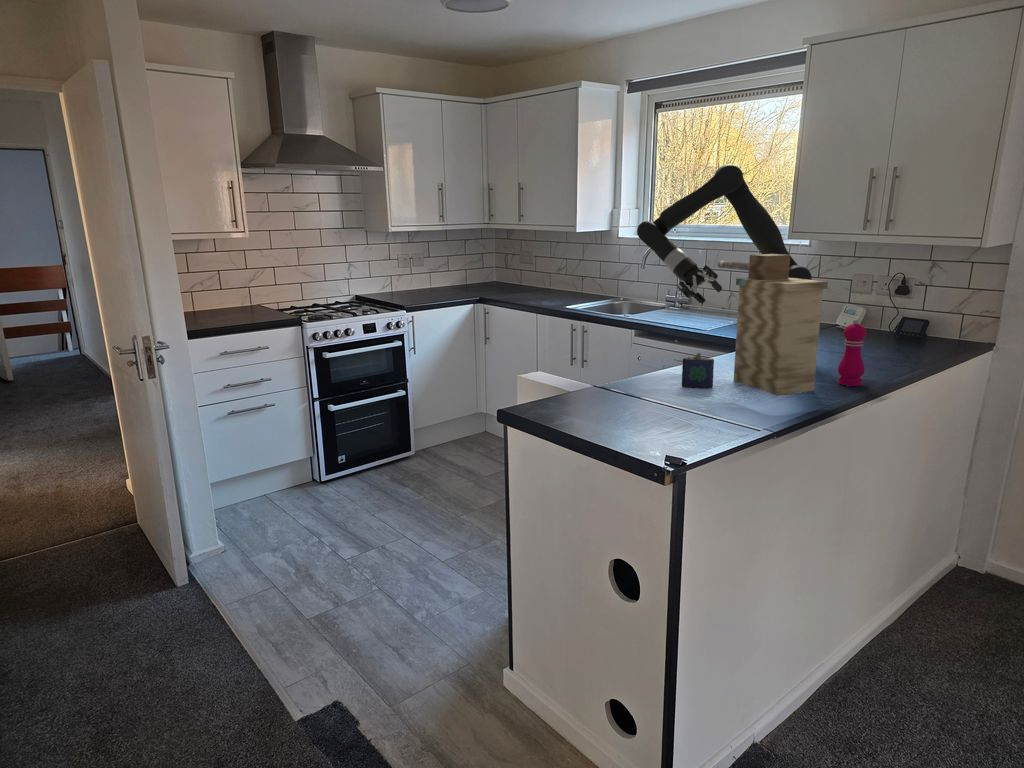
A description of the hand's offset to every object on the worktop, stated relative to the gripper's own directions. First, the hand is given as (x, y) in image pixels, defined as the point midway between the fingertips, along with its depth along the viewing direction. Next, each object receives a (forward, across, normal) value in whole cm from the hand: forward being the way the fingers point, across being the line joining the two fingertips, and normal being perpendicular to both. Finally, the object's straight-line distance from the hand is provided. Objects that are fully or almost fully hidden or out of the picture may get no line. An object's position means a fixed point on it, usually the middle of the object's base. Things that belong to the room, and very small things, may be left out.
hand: (712, 296), depth 225 cm
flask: (+23, -35, -7) cm, 42 cm away
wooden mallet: (+6, -1, -20) cm, 20 cm away
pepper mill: (+50, +2, -14) cm, 52 cm away
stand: (+36, -17, -10) cm, 41 cm away
